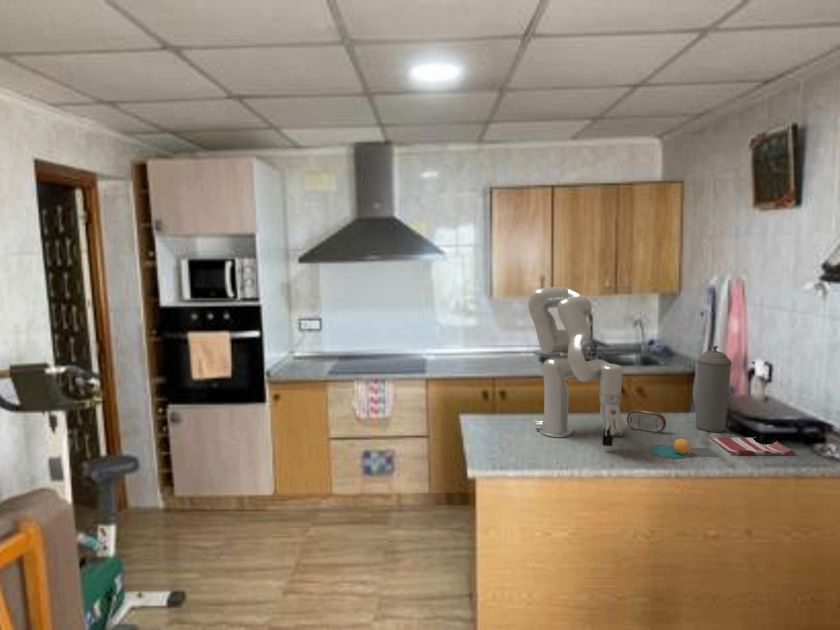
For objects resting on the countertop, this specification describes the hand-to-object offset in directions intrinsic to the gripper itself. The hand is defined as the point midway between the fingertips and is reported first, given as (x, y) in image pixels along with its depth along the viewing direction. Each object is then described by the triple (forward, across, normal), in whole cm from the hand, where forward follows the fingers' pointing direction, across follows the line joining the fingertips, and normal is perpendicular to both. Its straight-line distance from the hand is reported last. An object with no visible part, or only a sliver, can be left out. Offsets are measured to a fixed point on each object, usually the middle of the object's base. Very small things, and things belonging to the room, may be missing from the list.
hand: (607, 445), depth 207 cm
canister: (+2, +26, -50) cm, 57 cm away
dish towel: (+2, +5, -55) cm, 55 cm away
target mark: (+2, -1, -22) cm, 23 cm away
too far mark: (+2, -1, -34) cm, 35 cm away
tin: (+3, +23, -22) cm, 32 cm away
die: (+3, +19, -8) cm, 21 cm away
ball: (-1, -2, -26) cm, 26 cm away
